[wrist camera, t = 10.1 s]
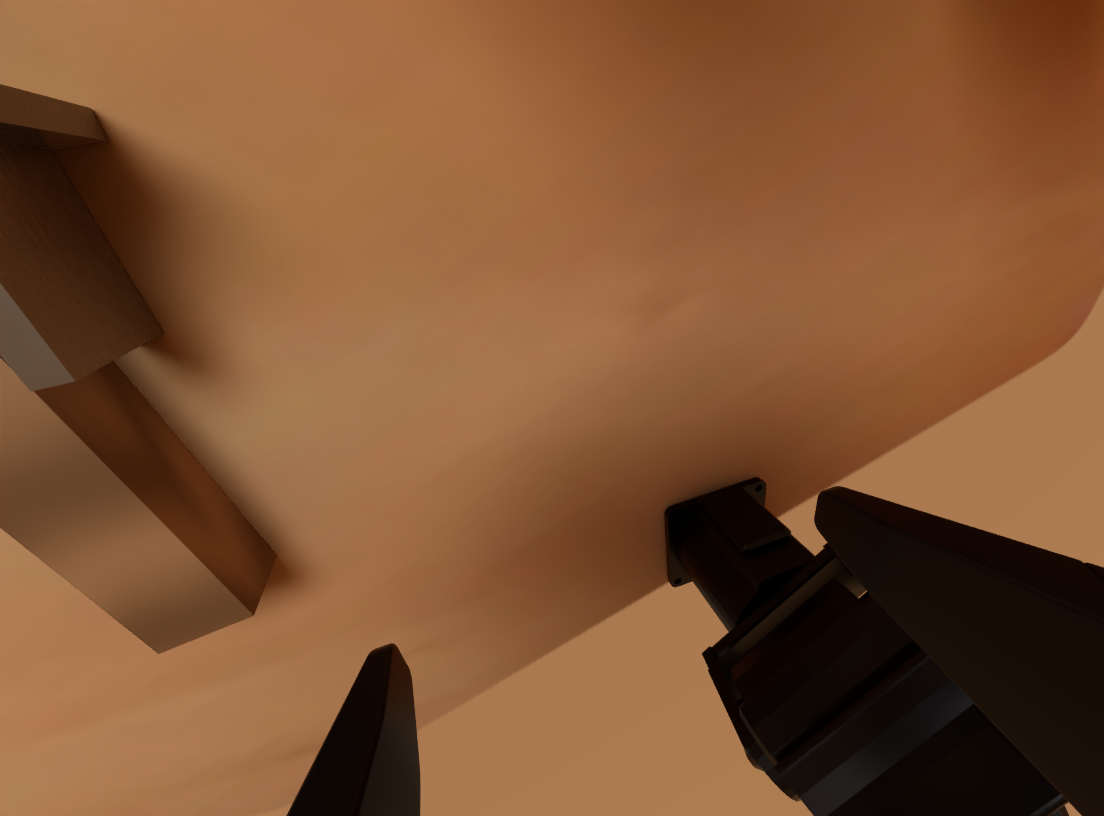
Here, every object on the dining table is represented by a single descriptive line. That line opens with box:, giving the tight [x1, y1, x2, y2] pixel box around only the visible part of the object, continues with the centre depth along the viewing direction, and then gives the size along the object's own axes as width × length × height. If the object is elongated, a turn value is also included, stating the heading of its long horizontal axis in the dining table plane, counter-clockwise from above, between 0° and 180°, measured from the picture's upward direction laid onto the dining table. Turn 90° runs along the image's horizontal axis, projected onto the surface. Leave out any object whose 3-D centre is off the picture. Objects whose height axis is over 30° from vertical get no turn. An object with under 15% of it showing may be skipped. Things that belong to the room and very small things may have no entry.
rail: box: [0, 356, 277, 654], centre depth 15 cm, size 15×4×4 cm, turn 15°
